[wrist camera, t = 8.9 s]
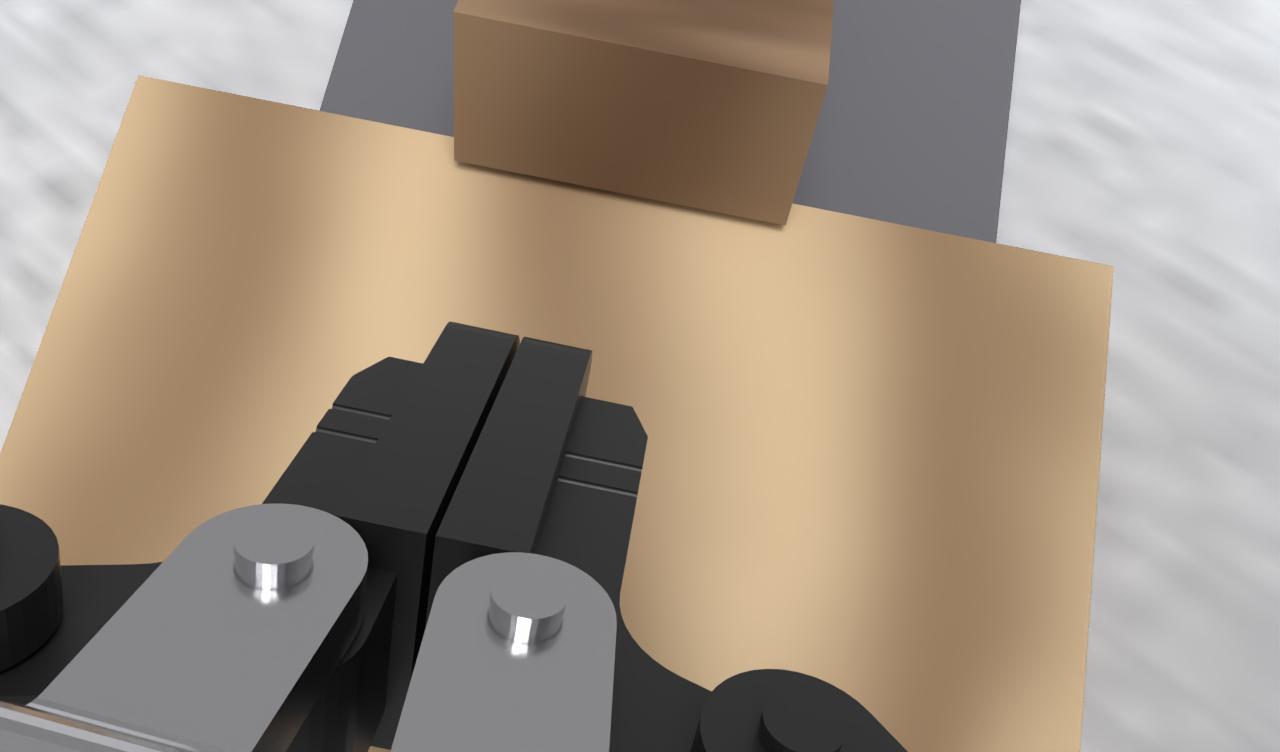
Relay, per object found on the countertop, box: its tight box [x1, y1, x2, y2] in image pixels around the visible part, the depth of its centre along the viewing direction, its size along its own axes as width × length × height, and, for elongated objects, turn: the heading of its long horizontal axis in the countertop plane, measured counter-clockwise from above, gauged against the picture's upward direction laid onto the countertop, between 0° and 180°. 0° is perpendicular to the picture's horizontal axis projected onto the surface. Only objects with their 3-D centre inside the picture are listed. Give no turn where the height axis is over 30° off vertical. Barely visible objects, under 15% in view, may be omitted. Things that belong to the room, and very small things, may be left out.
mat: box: [320, 0, 1021, 243], centre depth 26 cm, size 15×12×1 cm
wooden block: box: [0, 76, 1114, 752], centre depth 21 cm, size 18×11×4 cm, turn 79°
